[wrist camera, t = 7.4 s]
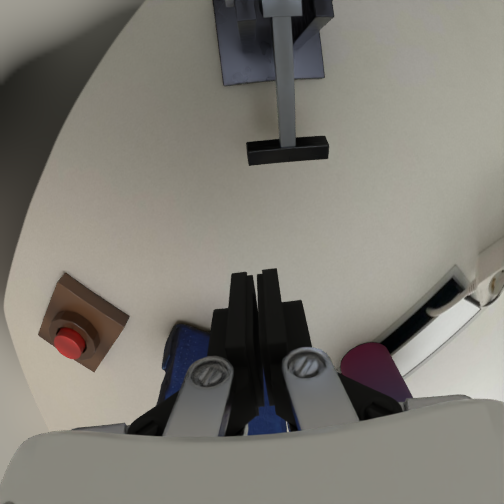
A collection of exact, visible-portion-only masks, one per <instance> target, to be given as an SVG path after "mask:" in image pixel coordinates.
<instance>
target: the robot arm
mask: <svg viewBox="0 0 504 504" xmlns="http://www.w3.org/2000/svg"><path fill="white" fill-rule="evenodd" d="M257 291H258V307H257V301H256V294H255V288H254V281H253V275H248V276H247V272H240V273H232V275H231V285H230V296H229V307H228V308H225V309H215V310H214V312H213V318H212V324H211V331H210V338H209V345H208V352H207V357H204V358H201V359H199V360H197V361H195V362H194V363H193V364H192V365H191V366H190V367H189V369H188V370H187V372H186V375H185V378H184V380H183V383H182V385H181V388H180V390H179V391H177V392H176V393H174V394H173V395H171V396H170V397H168V398H167V399H166V400H164V401H163V402H161V403H160V404H158V405H157V406H155V407H154V408H152V409H151V410H149V411H148V412H146V413H145V414H143V415H142V416H140V417H139V418H137V419H136V420H135V421H134V422H132V424H131V425H128V426H127V425H126V424H125V423H119V424H111V425H102V426H92V427H81V428H75V429H72V430H64V431H52V432H48V433H43V434H39V435H36V436H33V437H31V438H28V439H27V440H26V441H24V442H23V443H22V444H21V445H20V447H19V448H18V449H17V451H16V453H15V454H14V456H13V458H12V459H11V461H10V463H9V465H8V468H7V470H6V472H5V474H4V477H3V479H2V482H1V484H0V504H504V402H501V401H497V400H491V399H472V398H470V397H468V396H466V395H448V396H437V397H424V398H406V400H405V402H397V401H396V400H395V399H393V398H392V397H390V396H387V395H385V394H383V393H381V392H379V391H376V390H374V389H372V388H370V387H368V386H365V385H363V384H361V383H359V382H357V381H355V380H353V379H350V378H348V377H346V376H344V375H342V374H340V373H338V372H336V370H335V368H334V366H333V364H332V362H331V360H330V358H329V356H328V355H327V354H326V353H325V352H324V351H322V350H320V349H317V348H314V347H312V345H311V340H310V335H309V331H308V326H307V322H306V317H305V313H304V308H303V304H302V301H301V300H297V301H289V302H281V295H280V288H279V281H278V274H277V268H275V269H266V270H262V274H257ZM263 370H264V376H265V382H266V388H267V395H268V401H269V406H275V412H276V415H278V416H279V417H281V418H282V419H284V420H285V421H287V424H288V429H289V432H286V433H276V434H264V435H250V436H247V435H248V423H249V422H250V421H251V420H252V419H254V418H255V417H256V416H259V407H264V406H265V402H264V378H263Z"/></svg>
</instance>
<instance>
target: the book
mask: <svg viewBox="0 0 504 504" xmlns="http://www.w3.org/2000/svg"><path fill="white" fill-rule="evenodd" d="M209 338H210V333H208V332H204V331H200V330H198V329H196V328H194V327H191V326H188V325H185V324H176V325H175V326H174V327H173V329H172V331H171V332H170V335H169V337H168V339H167V341H166V344H165V349H164V355H163V362H162V369H163V370H165V372H166V374H165V377H164V380H163V382H162V384H161V389H160V394H159V398H158V402H157V405H158V404H160V403H161V402H163V401H164V400H166V399H167V398H168V397H170V396H171V395H173V394H174V393H176V392H177V391H179V390H180V388H181V385H182V383H183V380H184V378H185V375H186V372H187V370H188V369H189V367H190V366H191V365H192V364H193V363H194V362H195V361H197V360H199V359H201V358H204V357H207V352H208V345H209ZM263 378H264V402H265V406H264V407H259V416H256V417H255V418H254V419H252V420H251V421H250V422H249V423H248V435H247V436H250V435H264V434H276V433H286V432H287V426H286V421H285V420H284V419H282V418H281V417H279V416H278V415H276V412H275V406H269V401H268V395H267V388H266V382H265V376H264V370H263ZM157 405H156V406H157Z"/></svg>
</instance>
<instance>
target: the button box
mask: <svg viewBox="0 0 504 504" xmlns="http://www.w3.org/2000/svg"><path fill="white" fill-rule="evenodd" d="M128 319H129V316H128V315H126V314H125V313H123V312H122V311H120V310H119V309H117V308H116V307H114V306H113V305H111V304H110V303H108V302H107V301H105V300H104V299H102V298H101V297H99V296H98V295H96V294H95V293H93V292H92V291H90V290H89V289H87V288H86V287H85V286H83V285H82V284H80V283H79V282H77V281H76V280H75V279H73V278H72V277H71V276H69V275H68V274H66V273H65V274H64V275H63V276H62V277H61V278H60V280H59V281H58V282H57V285H56V287H55V290H54V292H53V295H52V297H51V300H50V303H49V305H48V308H47V311H46V314H45V316H44V319H43V322H42V325H41V328H40V331H39V334H38V335H39V336H40V337H41V338H43V339H44V340H46V341H47V342H48V343H50V344H51V345H53V346H54V347H55V344H54V339H55V337H56V335H57V334H58V332H59V331H60V329H62V328H64V327H67V328H71V329H73V330H75V331H76V332H78V333H79V334H80V335H81V336H82V337H83V339H84V340H85V348H84V350H83V352H82V354H81V356H80V357H79V358H78V359H74V360H75V361H77V362H78V363H80V364H82V365H83V366H85V367H86V368H88V369H90V370H91V371H93V372H95V371H96V369H97V367H98V366H99V364H100V363H101V361H102V360H103V358H104V357H105V355H106V354H107V352H108V351H109V349H110V348H111V346H112V345H113V343H114V342H115V340H116V339H117V338H118V336H119V335H120V333H121V332H122V330H123V329H124V327H125V325H126V323H127V321H128Z"/></svg>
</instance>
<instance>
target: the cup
mask: <svg viewBox="0 0 504 504" xmlns="http://www.w3.org/2000/svg"><path fill="white" fill-rule="evenodd" d="M341 372H342V375H344V376H346V377H348V378H350V379H353V380H355V381H357V382H359V383H361V384H363V385H365V386H368V387H370V388H372V389H374V390H376V391H379V392H381V393H383V394H385V395H387V396H390V397H392V398H393V399H395V400H396V401H397V402H405V400H406V398H413V397H412V395H411V393H410V391H409V389H408V387H407V385H406V383H405V381H404V380H403V378H402V376H401V374H400V372H399V370H398V368H397V366H396V365H395V363H394V361H393V359H392V357H391V355H390V353H389V352H388V350H387V348H386V347H385V346H384V345H382V344H380V343H365V344H362V345H359V346H357V347H355V348H353V349H352V350H350V351H349V352H348V353H347V354H346V355H345V356H344V358H343V360H342V362H341Z"/></svg>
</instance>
